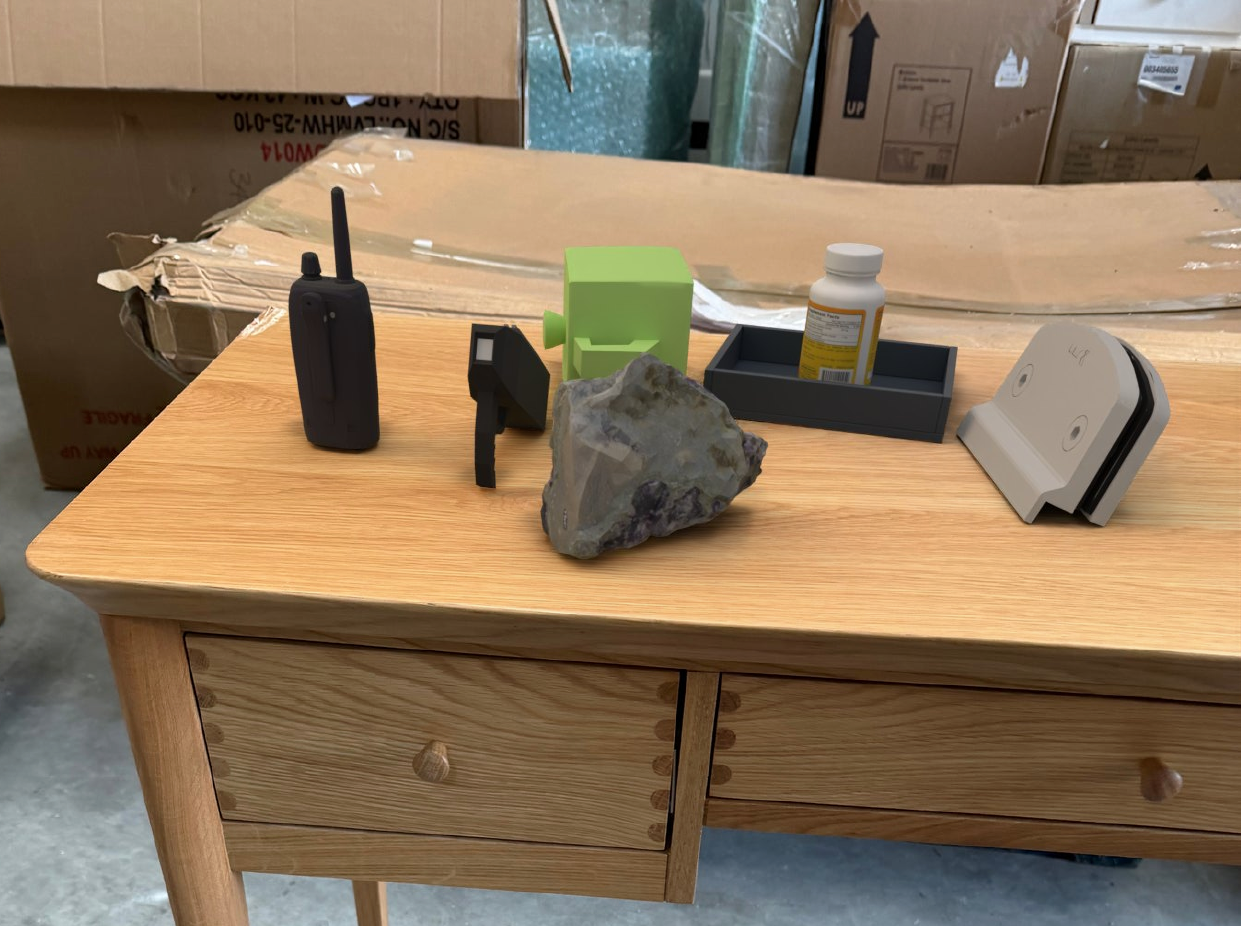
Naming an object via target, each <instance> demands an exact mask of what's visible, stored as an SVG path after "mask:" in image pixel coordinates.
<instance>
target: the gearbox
mask: <svg viewBox="0 0 1241 926" xmlns="http://www.w3.org/2000/svg"><path fill="white" fill-rule="evenodd" d="M563 258H564V261H563V264H564V265H563V307H562V308H563V310H562V315H561V314H559V313H556V312H554V311H552V310H548V309H544V311H543V316H542V317H543V318H542V345H543V348H544V351H545V350H550V349H553V348H556V347H559V346H561V345H562V356H561V357H562V358H561V359H562V360H561V365H562V366H561V373H562V374H561V375H562V382H564V381H569V380H575V379H583V378H585V379H589V380H592V379H595V378H598V377H600V378H603V379H604V378H606V377H608V376H610V375H611V374H612V373H614V372H615V371H616V370H622V369H623V368H624V367H625V366H626V365H627V364H628V363H629V362H630V361H631V360H632V359H637V358H638V357H639V356H640V355H641V354H642V352H646V353H650V354H652V355H654V356H655V357H657V358H659V359H660V360H661V361H662V362H664V363H667V364H669V365H671V366H673V367H674V368H677V369H678V370H680V371H681V372H682V374H683V375H684V377H687V370H688V358H689V346H690V335H691V323H692V313H693V312H692V311H693V300H694V286H695V282H694V279H693V276H692V273H691V271H690V268H689V266H688V264H687V262H686V260H685V258H684V255H682V253H681V251H680V249H679V248H678V247H670V246H660V245H601V246H600V245H599V246H596V245H595V246H567V247H566V248H564V255H563Z"/></svg>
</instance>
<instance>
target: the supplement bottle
mask: <svg viewBox="0 0 1241 926" xmlns="http://www.w3.org/2000/svg"><path fill="white" fill-rule="evenodd" d="M884 252H885V251H884V249H883V248H881V247H879V246H876V245H871V244H866V243H859V242H837V243H832V244H829V245H827V247H826V249H825V255H824V260H823V270H824V271H825V275H824V276H823V277H821V278H819V279H817V280H816V281H815V282H813V284H812V285H811V287H810V290H809V295H808V300H807V301H808V302H807V308H806V317H805V324H804V330H803V331H804V336H803V344H802V351H801V358H800V365H799V372H798V378H805V379H813V380H822V381H831V382H840V383H849V384H858V385H866V386H870V383H871V377H872V371H873V365H874V360H875V354H876V348H877V343H878V339H880V338H879V337H880V333H881V326H882V321H883V316H884V310H885V304H886V297H887V296H886V295H887V294H886V289H885V287H884V285H882V284H881V282H878V281H877V275H880V273H881V270H882V268H883V260H884V254H885V253H884Z"/></svg>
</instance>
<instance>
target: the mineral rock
mask: <svg viewBox="0 0 1241 926" xmlns="http://www.w3.org/2000/svg"><path fill="white" fill-rule="evenodd" d="M552 399H553V400H552V405H551V409H552V410H551V417H552V420H553V423H552V429H551V434H550V437H549V439H548V447H549V448H550V449H552V453H551V465H552V467H551V471H550V475H549V476H550V477H549V480H548V481H547V483H545V484H544V486H543V490H542V493H541V502H542V505H541V507H540V511H539V513H540V520H541V526H542V532H544V534H545V535H547V536H548V537H549V540H550V543H551V546H552V548H554V550H555V552H557V553H559V554H564V555H569V556H573V557H574V558H578V559H580V560H581V559H582V560H588V559H589V560H590V559H593V558H596V557H598V556H600V555H601V553H602V552H609V551H610V552H611V551H616V550H617V549H619V548H621V549H630V548H633V547H635V546H638V545H639V544H642V543H643V542H646V541H647V540H648V539H649V538H650V536H653V537H655V538H662V537H663V538H664V537H669V536H670V535H671V534H672V533H673V532H676V531H677V530H678V531H679V530H682V529H685V528H689V527H691V526H696V525H704V524H706V523H708V522H709V521H712V520H713V519H714V518H715V517H718V515H720V514H721V513H723V512H724V511H725V510H726V509H727V508H728V506H730V504H731V503H732V502H733V501H734V499H735V498H736V497H737V496H738V495H740V494H741V493H742V492H743V491H745V490H746V489H748V488H750V487H752V486H753V484H755V483H756V481H757V478H758V477H759V476H760V475H761V474H762V473H763V469H762V468H761V466H762V464H763V463H762V462H763V460H764V457H765V456H767V455H766V454H767V449H768V447H769V443H768V441H767V440H765V438H762V437H761V436H758V435H757V434H755V433H753V432H749V431H747V432H745V431H744V430H743V428H741V426H740V425H739V424H738V423H737V421H736V420H735V418H733V417H732V416H731V415H730V413H729V410H728V408H727V406H726V405H725V403H724V402H722V401H721V400H719V399H718V398H717V397H716V396H715V395H714V394H712V393H711V392H710V391H709V390H707V389H706V388H704V387H703V384H702V383H700V382H699V381H698V380H696V379H694V378H690V377H688V376H686V377H684V375H683V374H682V372H681V371H680V370H678V369H677V368H674V367H673V366H671V365H669V364H667V363H664V362H662V361H661V360H660V359H659V358H657V357H655V356H654V355H652V354H650V353H646V352H642V354H641V355H640V356H639V357H638V358H637V359H632V360H631V361H630V362H629V363H628V364H627V365H626V366H625V367H624V368H623V369H622V370H616V371H615V372H614V373H612V374H611V375H610V376H608V377H606V378H604V379H603V378H600V377H598V378H595V379H592V380H589V379H585V378H583V379H575V380H569V381H564V382H563V381H560V382H559V384H558V387H557V389H556V390H555V393H554V395H553V398H552Z"/></svg>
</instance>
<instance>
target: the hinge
mask: <svg viewBox="0 0 1241 926" xmlns="http://www.w3.org/2000/svg"><path fill="white" fill-rule="evenodd" d="M1171 412H1172V410H1171V405H1170V401H1169V396H1168V393H1167V391H1166V387H1165V384H1164V382H1163V379H1162V378H1161V376H1160V374H1159V373H1158V371H1157V369H1156V368H1155V366H1154V365H1153V364H1152V362H1151V361H1150V360H1149V359H1148V358H1147V357H1146V356H1144V355H1143V354H1142V353H1141V352H1140V351H1139V350H1138V349H1137V348H1136V347H1134V346H1133V344H1131V343H1130V342H1128V341H1126V340H1124V339H1123V338H1121V337H1120V336H1115V335H1113V334H1111V333H1109V332H1108V331H1106V330H1104V329H1102V328H1100V327H1096V326H1093V325H1089V324H1086V323H1085V324H1084V323H1081V322H1075V321H1069V320H1068V321H1055V322H1048V323H1045V324H1044V325H1042V326H1040V328H1039V329H1037V331H1036V332H1035V333H1034V335H1033V337H1032V338H1031V339H1030V341H1029V342H1028V344H1027V346H1026V347H1025V349H1024V351H1023V352H1022V353H1021V354H1020V356H1019V358H1018V359H1017V361H1016V362H1015V363H1014V365H1013V367H1012V368H1011V369H1010V371H1009V372H1008V374H1007V376H1006V377H1005V379H1004V380H1003V381H1002V383H1001V384H1000V386H999V388H998V389H997V391H996V392H995V393H994V395H993V396H992V398H991V399H990V400H989V401H986V402H984V403H980V404H977V405H974V406H971V408H969V410H968V411H967V412H966V414H965V416H964V418H963V420H962V421H961V423H960V425H959V426H958V428H957V429H956V431H955V433H956V434H957V436H958V438H960V440H961V441H962V442H963V443H964V445H965V446H966V447H967V448H968V450H969V451H970V452H971V454H972V455H973V457H974V458H975V460H976V461H977V462H978V463H979V464H980V465H981V467H982V469H983V470H984V471H985V472H986V473H987V475H988V476H989V478H991V480H992V481H993V482H994V484H995V485H996V487H997V488H998V489H999V490H1000V491H1001V493H1002V494H1003V496H1004V497H1005V498H1006V500H1007V501H1008V502H1009V504H1010V505H1011V506H1012V508H1014V510H1015V511H1016V512H1017V514H1018V515H1019V516H1020V518H1021V519H1022V520H1023V522H1025V523H1028V524H1030V525H1031V524H1032V523H1033V522H1034V520H1035V518H1037V516H1038V514H1039V512H1040V511H1041V510H1042V508H1043V507H1044V505H1045V504H1046V502H1047V503H1049V504H1051V505H1053V506H1055V507H1057V508H1058V509H1061V510H1063V511H1065V512H1067V513H1069V514H1074V511H1075V510H1078V511H1079V512H1081V513H1082V515H1083V516H1084V517H1085V518H1086V519H1087V520H1088V521H1089V522H1090V523H1093V524H1096V525H1099V526H1102V527H1106V525H1107V523H1108V522H1109V520H1110V518H1111V517H1112V515H1113V513H1114V512H1115V511H1116V509H1117V508H1118V506H1119V504H1120V502H1121V501H1122V499H1123V497H1124V495H1125V494H1126V493H1127V491H1128V489H1129V488H1130V486H1131V484H1132V483H1133V481H1134V479H1135V478H1136V476H1137V475H1138V473H1139V471H1140V469H1142V467H1143V465H1144V463H1145V462H1146V460H1147V458H1148V457H1149V455H1150V453H1151V452H1152V450H1153V448H1154V447H1155V445H1156V444H1157V442H1158V441H1159V439H1160V438H1161V435H1162V434H1163V432H1164V431H1165V429H1166V427H1167V426H1168V424H1169V421H1170V419H1171V415H1172V414H1171Z"/></svg>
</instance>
